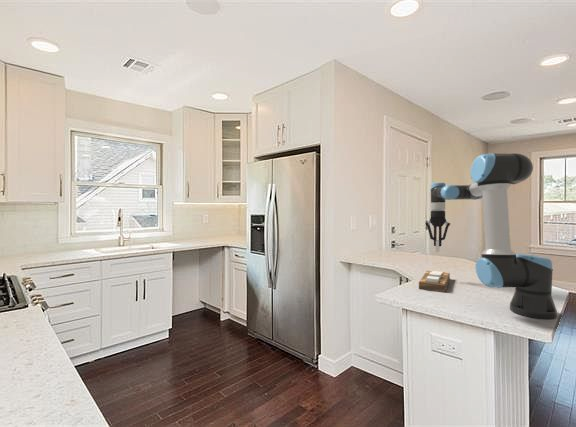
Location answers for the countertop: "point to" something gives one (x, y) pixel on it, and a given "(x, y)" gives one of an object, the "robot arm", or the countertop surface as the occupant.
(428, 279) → the near button
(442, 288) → the button board
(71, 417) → the countertop surface
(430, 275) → the middle button
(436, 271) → the far button
